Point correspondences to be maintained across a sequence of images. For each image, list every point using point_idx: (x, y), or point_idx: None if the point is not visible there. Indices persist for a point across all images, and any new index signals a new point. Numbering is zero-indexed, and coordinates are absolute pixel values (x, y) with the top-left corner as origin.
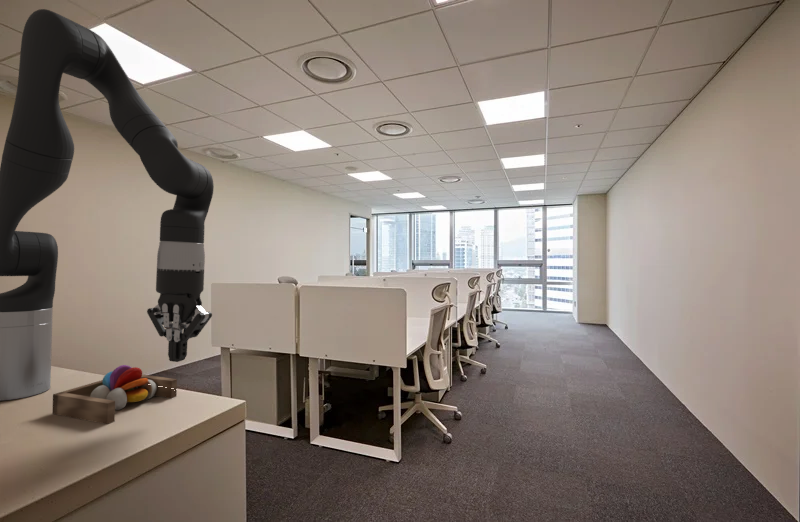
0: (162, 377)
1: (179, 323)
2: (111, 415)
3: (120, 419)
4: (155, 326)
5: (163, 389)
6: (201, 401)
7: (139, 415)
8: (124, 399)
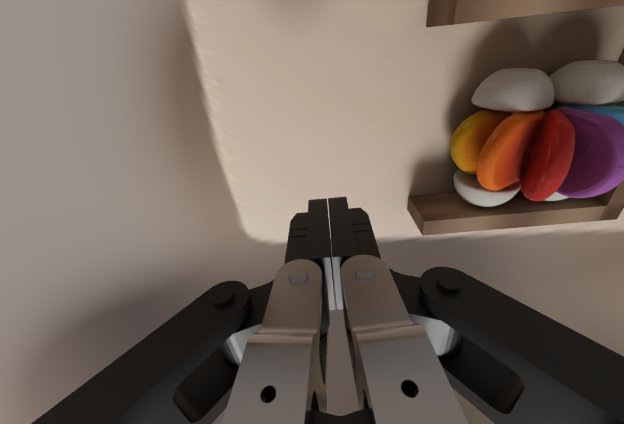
0: (475, 229)
1: (233, 394)
2: (436, 14)
3: (421, 45)
4: (551, 325)
5: (443, 204)
6: None
7: (393, 89)
8: (480, 98)
